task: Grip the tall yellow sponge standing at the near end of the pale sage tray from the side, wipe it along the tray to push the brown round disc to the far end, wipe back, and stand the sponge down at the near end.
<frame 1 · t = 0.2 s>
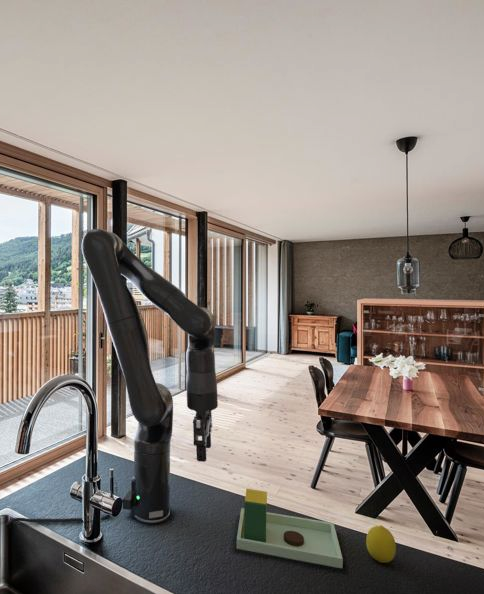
hand: (204, 454, 101), 17 cm above the countertop, tool pointing down, fingers open, 8 cm apart
tray: (286, 541, 95), on the countertop
lemon: (380, 563, 88), on the countertop
sponge: (255, 533, 97), point 1 cm above the countertop, touching tray
brown round disc: (293, 540, 94), point 1 cm above the countertop, touching tray
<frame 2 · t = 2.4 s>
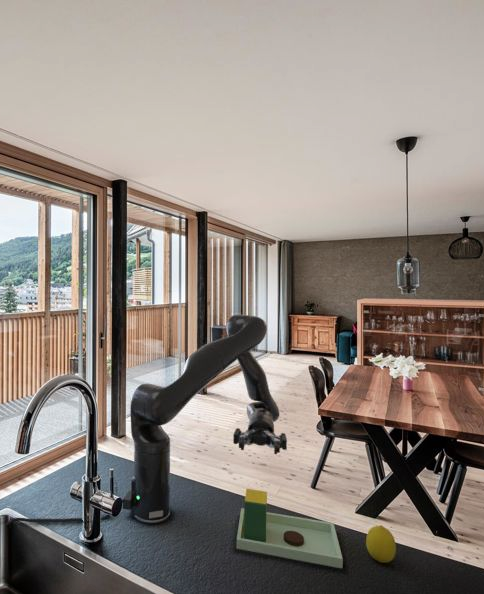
hand: (258, 448, 108), 16 cm above the countertop, tool horizontal, fingers open, 8 cm apart
nothing on the countertop moved.
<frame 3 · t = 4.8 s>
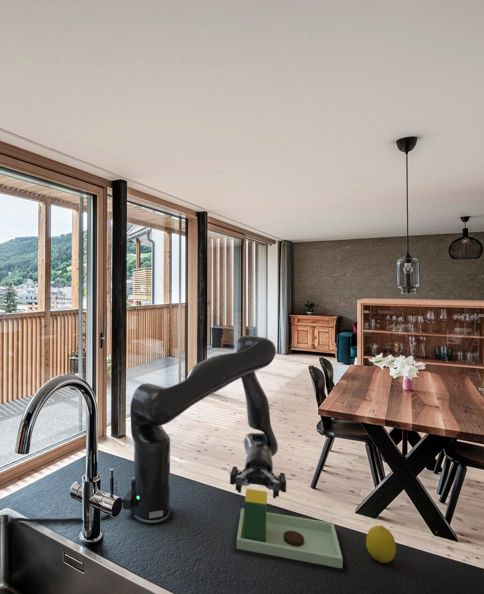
hand: (256, 491, 103), 8 cm above the countertop, tool horizontal, fingers open, 8 cm apart
nothing on the countertop moved.
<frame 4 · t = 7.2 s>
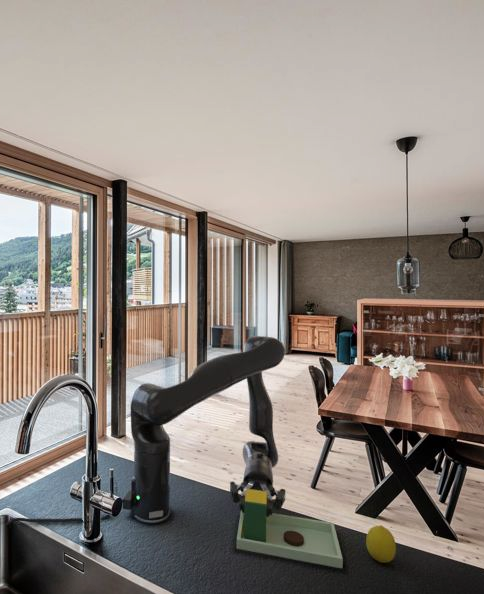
hand: (255, 510, 94), 8 cm above the countertop, tool horizontal, fingers closed on sponge, 4 cm apart
sponge: (255, 533, 97), point 1 cm above the countertop, touching gripper, tray
everything else where it was.
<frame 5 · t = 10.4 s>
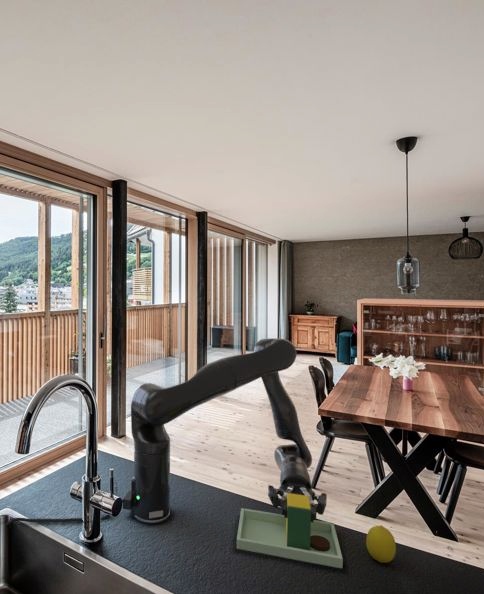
hand: (299, 515, 91), 8 cm above the countertop, tool horizontal, fingers closed on sponge, 4 cm apart
sponge: (297, 539, 94), point 1 cm above the countertop, touching brown round disc, gripper
brown round disc: (319, 545, 93), point 1 cm above the countertop, touching sponge, tray
everything else where it was.
when the fingers open (8 cm above the countertop, at t = 13.1 s): sponge stays where it is, resting on tray.
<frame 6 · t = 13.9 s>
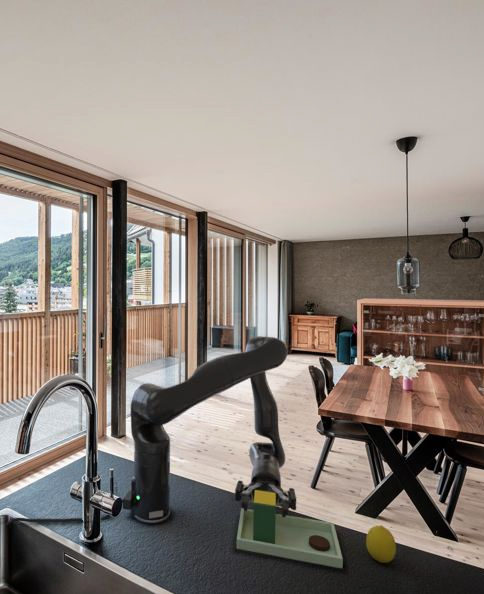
hand: (264, 510, 94), 8 cm above the countertop, tool horizontal, fingers open, 8 cm apart
sponge: (264, 535, 96), point 1 cm above the countertop, touching tray
brown round disc: (319, 545, 93), point 1 cm above the countertop, touching tray
everything else where it was.
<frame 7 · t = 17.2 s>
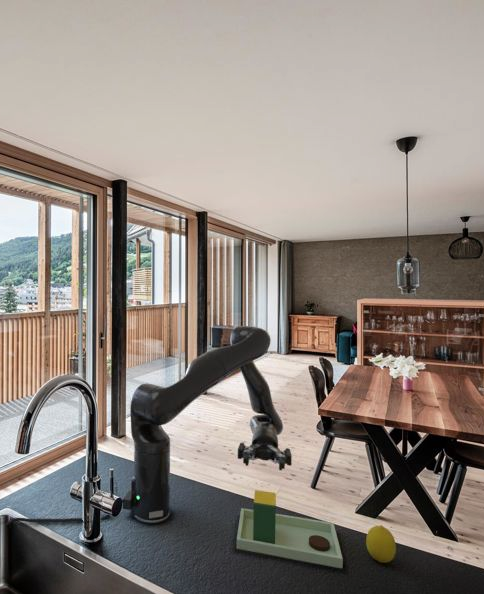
hand: (263, 464, 108), 12 cm above the countertop, tool horizontal, fingers open, 8 cm apart
nothing on the countertop moved.
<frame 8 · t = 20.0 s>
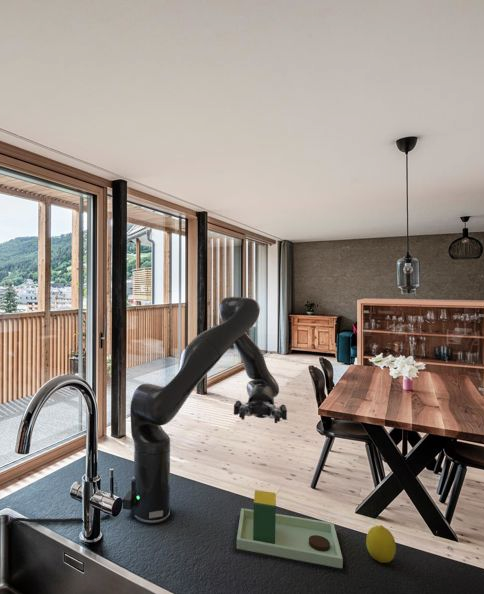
hand: (259, 417, 109), 24 cm above the countertop, tool horizontal, fingers open, 8 cm apart
nothing on the countertop moved.
at the end: brown round disc inside the target area in the tray (0.4 cm from its centre), point 0.6 cm above the tray's base; sponge inside the target area in the tray (0.5 cm from its centre), point 0.6 cm above the tray's base; the gripper is holding nothing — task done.
